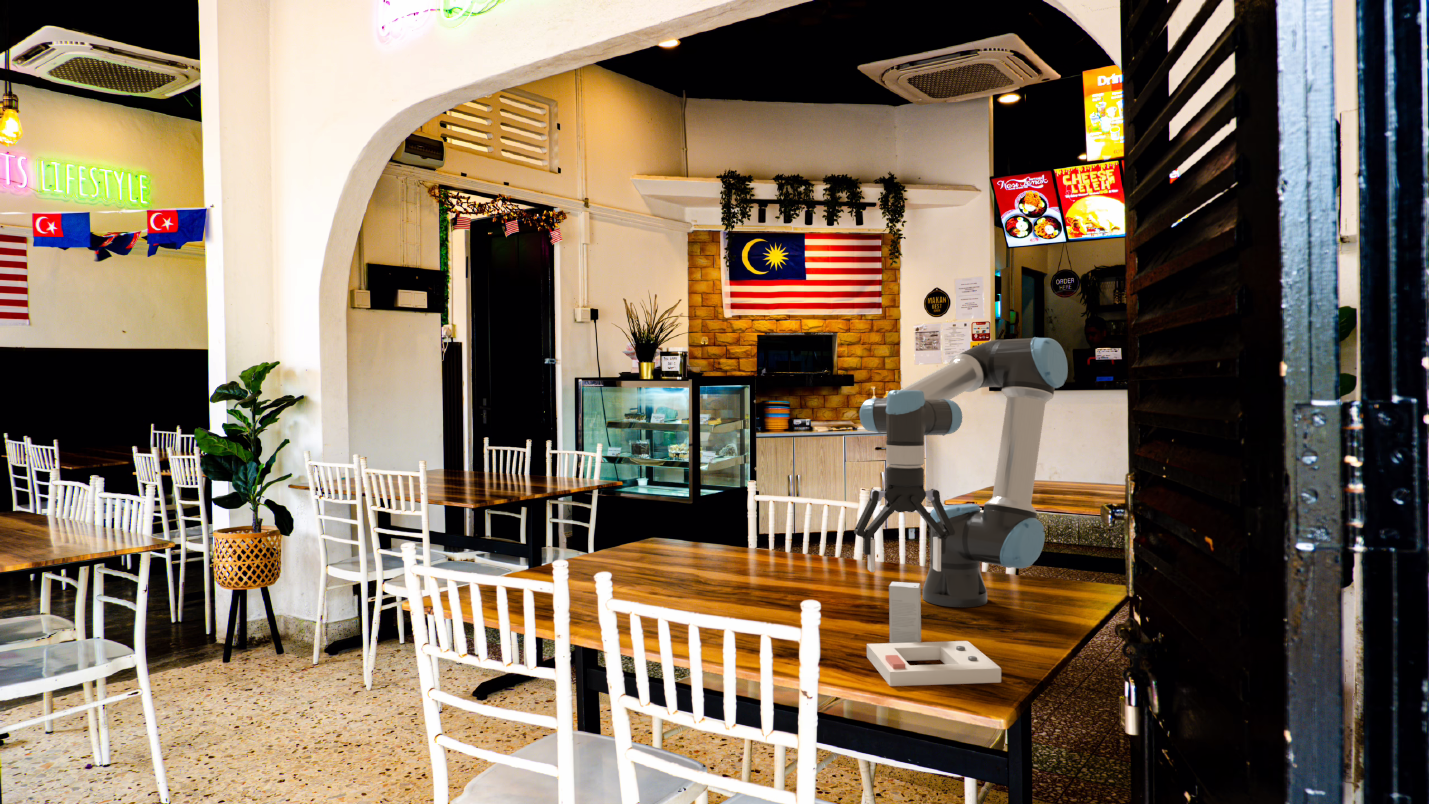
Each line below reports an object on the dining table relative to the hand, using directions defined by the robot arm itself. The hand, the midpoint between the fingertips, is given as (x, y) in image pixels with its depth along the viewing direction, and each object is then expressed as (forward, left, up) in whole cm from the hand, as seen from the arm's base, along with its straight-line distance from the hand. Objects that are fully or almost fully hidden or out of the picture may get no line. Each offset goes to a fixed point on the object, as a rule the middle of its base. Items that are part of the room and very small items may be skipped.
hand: (904, 570), depth 173 cm
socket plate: (0, +16, -15) cm, 22 cm away
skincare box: (0, 0, -15) cm, 15 cm away
